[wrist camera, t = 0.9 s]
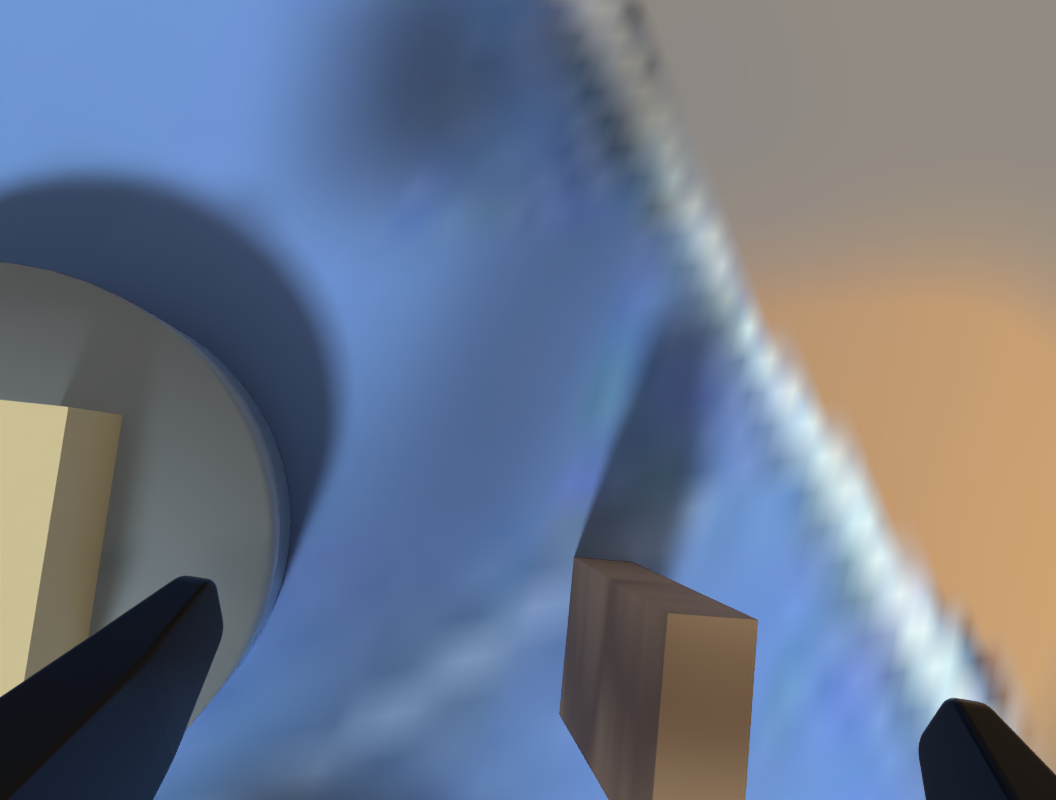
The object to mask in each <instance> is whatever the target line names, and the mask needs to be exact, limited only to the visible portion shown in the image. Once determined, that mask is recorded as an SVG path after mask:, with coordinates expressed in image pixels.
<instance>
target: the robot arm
mask: <svg viewBox="0 0 1056 800" xmlns="http://www.w3.org/2000/svg"><path fill="white" fill-rule="evenodd" d="M223 625H224V624H223V617H222V612H221V606H220V601H219V596H218V590H217V586H216V584H215V583H214V582H213V581H212V580H210V579H206V578H200V577H194V576H180V577H178V578H175V579H174V580H172V581H171V582H169V583H168V584H166V585H165V586H163V587H162V588H160V589H159V590H157V591H156V592H154V593H153V594H151V595H150V596H148V597H147V598H146V599H144V600H143V601H141V602H140V603H138V604H137V605H135V606H134V607H132V608H131V609H129V610H128V611H126V612H125V613H123V614H122V615H120V616H119V617H117V618H116V619H115V620H113V621H112V622H110V623H109V624H107V625H106V626H104V627H103V628H101V629H100V630H98V631H97V632H95V633H94V634H92V635H91V636H89V637H88V638H86V639H85V640H84V641H82V642H81V643H79V644H78V645H76V646H75V647H73V648H72V649H70V650H69V651H67V652H66V653H64V654H63V655H61V656H60V657H58V658H57V659H56V660H54V661H53V662H51V663H50V664H48V665H47V666H45V667H44V668H42V669H41V670H39V671H38V672H36V673H35V674H33V675H32V676H30V677H29V678H27V679H26V680H25V681H23V682H22V683H20V684H19V685H17V686H16V687H14V688H13V689H11V690H10V691H8V692H7V693H5V694H4V695H2V696H1V697H0V800H153V798H154V797H155V795H156V793H157V791H158V789H159V787H160V785H161V783H162V781H163V779H164V777H165V775H166V773H167V771H168V769H169V767H170V765H171V763H172V761H173V759H174V757H175V754H176V752H177V750H178V747H179V745H180V742H181V740H182V738H183V735H184V733H185V730H186V728H187V725H188V723H189V720H190V717H191V715H192V712H193V710H194V707H195V705H196V702H197V700H198V697H199V695H200V692H201V690H202V687H203V685H204V682H205V680H206V677H207V675H208V672H209V670H210V667H211V665H212V662H213V660H214V657H215V654H216V652H217V649H218V647H219V644H220V642H221V638H222V635H223ZM919 760H920V766H921V772H922V778H923V785H924V791H925V797H926V800H1056V775H1055V774H1054V773H1053V772H1052V770H1051V769H1050V768H1049V767H1048V766H1047V765H1046V764H1045V763H1044V762H1043V761H1042V760H1041V759H1040V758H1039V757H1038V756H1037V755H1036V754H1035V753H1034V752H1033V751H1032V750H1031V749H1030V748H1029V747H1028V746H1027V745H1026V744H1025V743H1024V741H1023V740H1022V739H1021V738H1020V737H1019V736H1018V735H1017V734H1016V733H1015V732H1014V731H1013V730H1012V729H1011V728H1010V727H1009V726H1008V725H1007V724H1006V723H1005V722H1004V721H1003V720H1002V719H1001V718H1000V717H999V716H998V715H997V714H996V712H995V711H993V710H992V709H991V708H990V707H989V706H987V705H986V704H984V703H981V702H977V701H971V700H964V699H958V698H950V699H948V700H946V701H944V703H943V704H942V705H941V707H940V708H939V710H938V711H937V713H936V714H935V716H934V717H933V719H932V720H931V722H930V723H929V725H928V726H927V728H926V729H925V731H924V732H923V734H922V736H921V739H920V742H919Z"/></svg>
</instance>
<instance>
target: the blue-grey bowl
mask: <svg viewBox="0 0 1056 800" xmlns="http://www.w3.org/2000/svg"><path fill="white" fill-rule="evenodd" d="M290 527H291V513H290V499H289V488H288V483H287V479H286V474H285V469H284V464H283V460H282V457H281V455H280V452H279V449H278V446H277V443H276V441H275V438H274V435H273V433H272V431H271V429H270V427H269V425H268V423H267V421H266V419H265V417H264V415H263V413H262V411H261V410H260V408H259V406H258V405H257V403H256V402H255V400H254V399H253V398H252V396H251V395H250V393H249V392H248V391H247V389H246V388H245V386H244V385H243V384H242V382H241V381H240V380H239V379H238V378H237V377H236V376H235V375H234V374H233V373H232V372H231V371H230V370H229V368H228V367H227V366H226V365H225V364H224V363H223V362H222V361H221V360H220V359H218V358H217V357H216V356H215V355H214V354H212V353H211V352H210V351H209V350H207V349H206V348H205V347H204V346H203V345H201V344H200V343H199V342H197V341H196V340H194V339H193V338H191V337H189V336H188V335H186V334H185V333H183V332H181V331H180V330H178V329H177V328H175V327H173V326H172V325H170V324H168V323H166V322H165V321H163V320H161V319H159V318H157V317H156V316H154V315H152V314H150V313H148V312H147V311H145V310H143V309H141V308H140V307H138V306H136V305H134V304H132V303H131V302H129V301H127V300H125V299H123V298H121V297H119V296H117V295H115V294H113V293H111V292H108V291H106V290H104V289H102V288H100V287H97V286H95V285H93V284H91V283H89V282H86V281H83V280H80V279H76V278H73V277H70V276H67V275H64V274H61V273H58V272H55V271H51V270H46V269H41V268H36V267H30V266H25V265H20V264H15V263H4V262H0V697H1V696H2V695H4V694H5V693H7V692H8V691H10V690H11V689H13V688H14V687H16V686H17V685H19V684H20V683H22V682H23V681H25V680H26V679H27V678H29V677H30V676H32V675H33V674H35V673H36V672H38V671H39V670H41V669H42V668H44V667H45V666H47V665H48V664H50V663H51V662H53V661H54V660H56V659H57V658H58V657H60V656H61V655H63V654H64V653H66V652H67V651H69V650H70V649H72V648H73V647H75V646H76V645H78V644H79V643H81V642H82V641H84V640H85V639H86V638H88V637H89V636H91V635H92V634H94V633H95V632H97V631H98V630H100V629H101V628H103V627H104V626H106V625H107V624H109V623H110V622H112V621H113V620H115V619H116V618H117V617H119V616H120V615H122V614H123V613H125V612H126V611H128V610H129V609H131V608H132V607H134V606H135V605H137V604H138V603H140V602H141V601H143V600H144V599H146V598H147V597H148V596H150V595H151V594H153V593H154V592H156V591H157V590H159V589H160V588H162V587H163V586H165V585H166V584H168V583H169V582H171V581H172V580H174V579H175V578H178V577H180V576H194V577H200V578H206V579H210V580H212V581H213V582H214V583H215V584H216V586H217V590H218V596H219V601H220V606H221V612H222V617H223V624H224V625H223V635H222V638H221V642H220V644H219V647H218V649H217V652H216V654H215V657H214V660H213V662H212V665H211V667H210V670H209V672H208V675H207V677H206V680H205V682H204V685H203V687H202V690H201V692H200V695H199V697H198V700H197V702H196V705H195V707H194V710H193V712H192V715H191V717H190V720H189V723H188V725H187V728H188V727H189V726H190V725H191V724H192V723H193V721H194V720H195V719H196V718H197V717H198V715H199V714H200V713H201V712H202V711H203V710H204V708H205V707H206V706H207V705H208V704H209V702H210V701H211V700H212V699H213V698H214V696H215V695H216V694H217V693H218V692H219V690H220V689H221V688H222V687H223V686H224V684H225V683H226V682H227V681H228V680H229V678H230V677H231V676H232V675H233V674H234V672H235V671H236V670H237V669H238V668H239V666H240V665H241V664H242V663H243V661H244V660H245V658H246V656H247V655H248V653H249V652H250V650H251V649H252V647H253V646H254V644H255V643H256V641H257V640H258V638H259V637H260V635H261V632H262V630H263V628H264V626H265V624H266V622H267V620H268V618H269V616H270V614H271V612H272V610H273V608H274V605H275V602H276V599H277V596H278V593H279V590H280V587H281V584H282V581H283V577H284V572H285V567H286V562H287V557H288V552H289V543H290ZM187 728H186V730H187ZM186 730H185V731H186Z"/></svg>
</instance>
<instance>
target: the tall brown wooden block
mask: <svg viewBox="0 0 1056 800" xmlns="http://www.w3.org/2000/svg"><path fill="white" fill-rule="evenodd" d="M757 626H758V620H757V619H755V618H752V617H750V616H748V615H746V614H744V613H742V612H739V611H737V610H735V609H733V608H731V607H729V606H726V605H724V604H722V603H720V602H718V601H716V600H714V599H711V598H709V597H707V596H705V595H703V594H701V593H698V592H696V591H694V590H692V589H690V588H688V587H685V586H683V585H681V584H679V583H677V582H675V581H672V580H670V579H668V578H666V577H664V576H662V575H659V574H657V573H655V572H653V571H651V570H649V569H646V568H644V567H642V566H640V565H638V564H636V563H634V562H625V561H613V560H601V559H590V558H578V557H574V564H573V575H572V585H571V596H570V606H569V617H568V628H567V638H566V649H565V660H564V670H563V681H562V691H561V702H560V713H559V715H560V717H561V718H562V720H563V722H564V723H565V725H566V727H567V729H568V730H569V732H570V734H571V735H572V737H573V739H574V741H575V742H576V744H577V746H578V748H579V749H580V751H581V753H582V754H583V756H584V758H585V760H586V761H587V763H588V765H589V766H590V768H591V770H592V772H593V773H594V775H595V777H596V779H597V780H598V782H599V784H600V785H601V787H602V789H603V791H604V792H605V794H606V796H607V797H608V799H609V800H745V797H746V783H747V769H748V754H749V740H750V726H751V712H752V697H753V683H754V669H755V655H756V640H757Z"/></svg>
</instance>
